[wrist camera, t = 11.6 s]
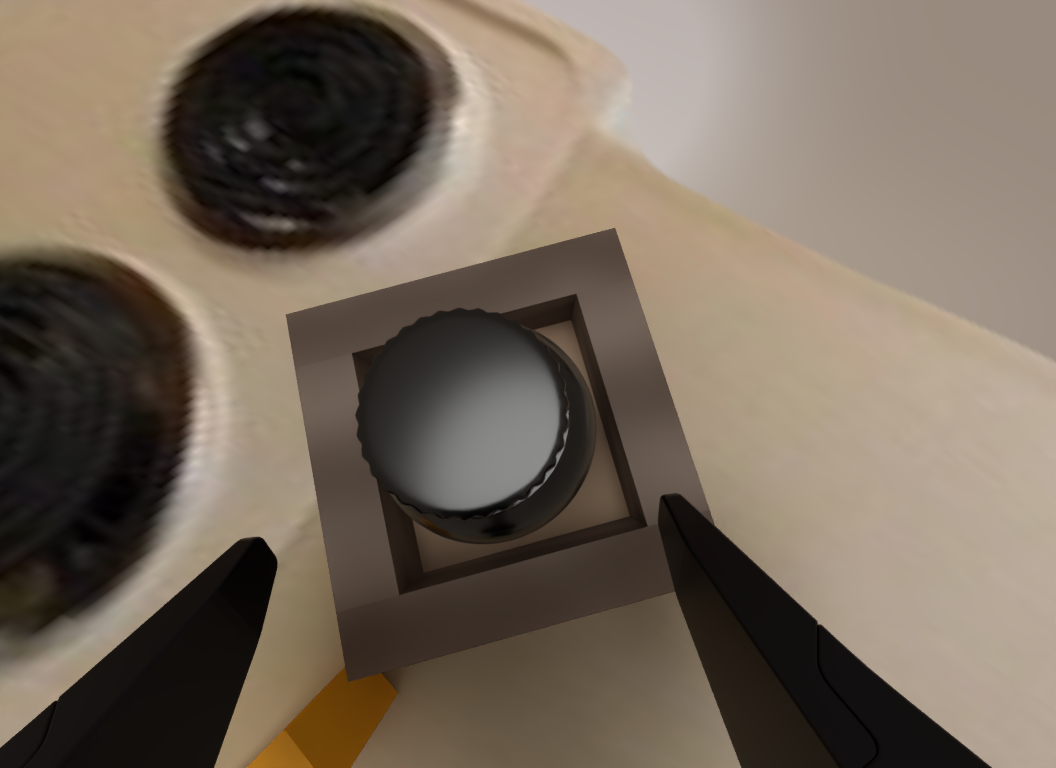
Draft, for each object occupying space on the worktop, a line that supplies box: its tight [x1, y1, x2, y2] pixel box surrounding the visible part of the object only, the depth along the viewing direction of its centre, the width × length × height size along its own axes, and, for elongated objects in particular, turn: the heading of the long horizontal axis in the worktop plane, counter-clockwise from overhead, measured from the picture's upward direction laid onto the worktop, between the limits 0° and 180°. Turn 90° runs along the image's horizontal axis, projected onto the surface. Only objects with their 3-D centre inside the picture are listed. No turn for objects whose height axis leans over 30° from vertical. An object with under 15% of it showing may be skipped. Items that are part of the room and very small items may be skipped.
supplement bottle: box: [355, 308, 597, 544], centre depth 15 cm, size 7×7×12 cm
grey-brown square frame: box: [286, 228, 714, 682], centre depth 20 cm, size 17×17×4 cm
